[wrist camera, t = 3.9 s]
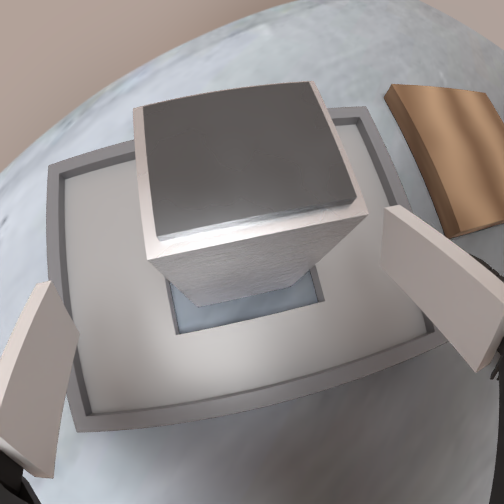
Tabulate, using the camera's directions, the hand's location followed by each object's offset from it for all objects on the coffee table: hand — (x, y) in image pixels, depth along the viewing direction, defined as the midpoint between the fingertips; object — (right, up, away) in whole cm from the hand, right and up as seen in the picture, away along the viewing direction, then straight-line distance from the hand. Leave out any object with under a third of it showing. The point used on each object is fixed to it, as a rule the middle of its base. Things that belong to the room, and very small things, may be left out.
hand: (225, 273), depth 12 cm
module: (0, 0, +9) cm, 9 cm away
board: (+21, +10, +13) cm, 27 cm away
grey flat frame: (0, 0, +9) cm, 9 cm away
